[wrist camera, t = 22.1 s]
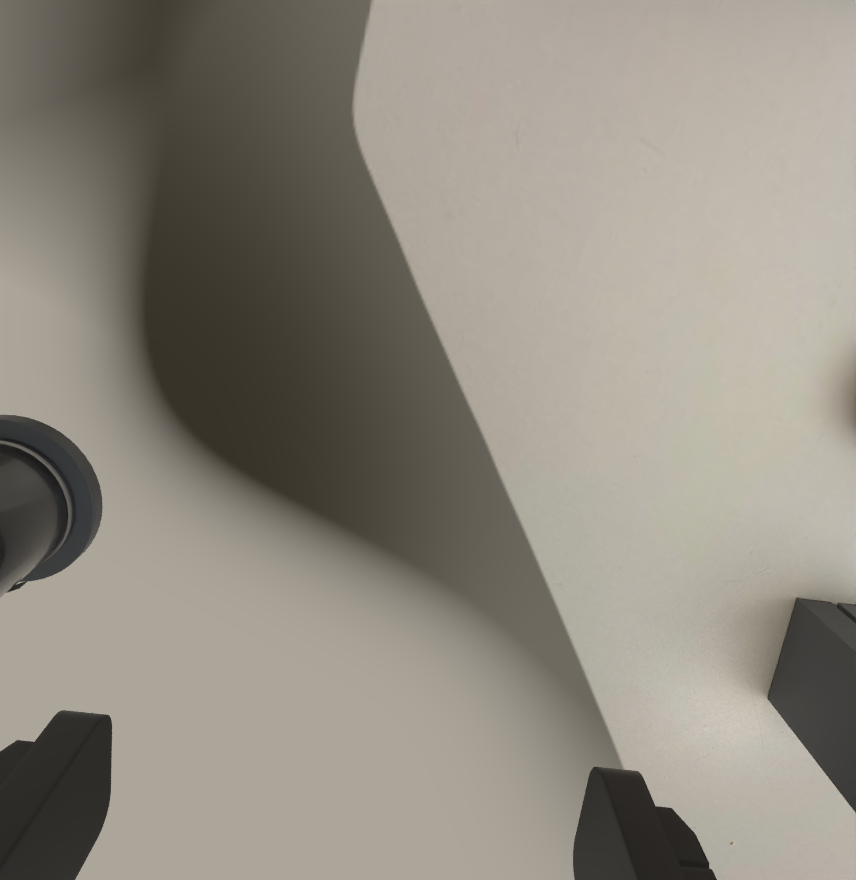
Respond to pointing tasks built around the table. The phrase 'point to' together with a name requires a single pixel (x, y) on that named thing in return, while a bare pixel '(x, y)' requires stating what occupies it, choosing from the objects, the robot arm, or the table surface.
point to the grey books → (821, 687)
